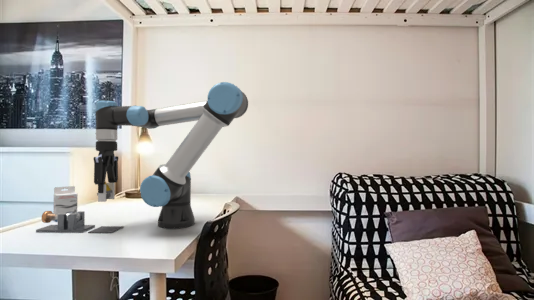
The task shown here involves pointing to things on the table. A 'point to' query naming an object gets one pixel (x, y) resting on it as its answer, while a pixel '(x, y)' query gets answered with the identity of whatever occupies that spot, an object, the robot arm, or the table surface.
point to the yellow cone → (107, 191)
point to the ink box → (65, 199)
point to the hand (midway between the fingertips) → (106, 200)
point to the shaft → (56, 216)
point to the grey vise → (68, 224)
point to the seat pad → (106, 229)
